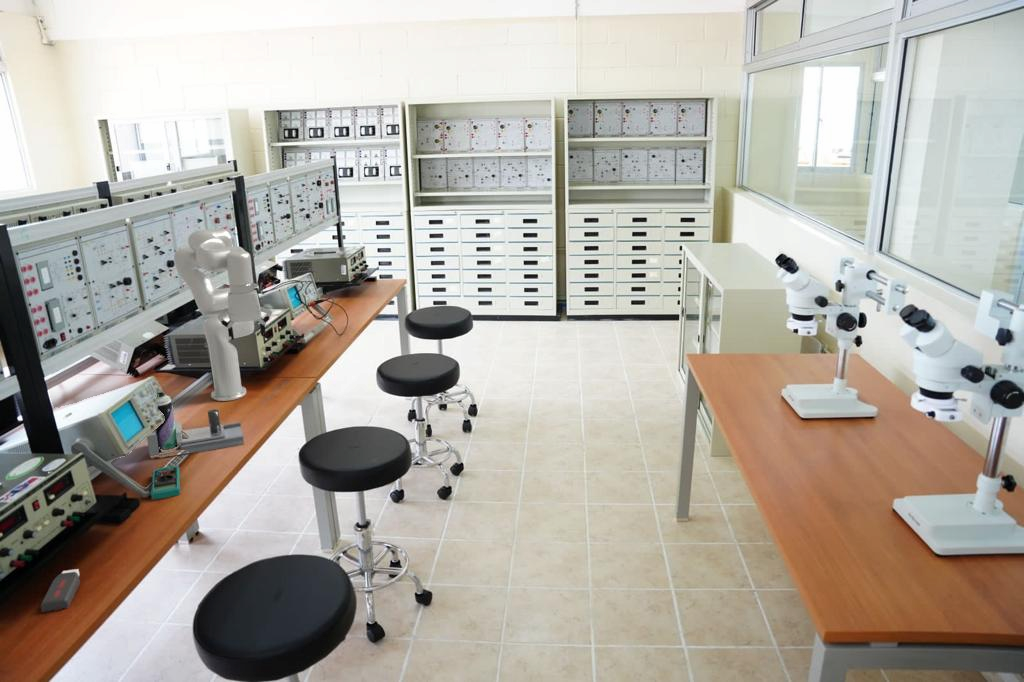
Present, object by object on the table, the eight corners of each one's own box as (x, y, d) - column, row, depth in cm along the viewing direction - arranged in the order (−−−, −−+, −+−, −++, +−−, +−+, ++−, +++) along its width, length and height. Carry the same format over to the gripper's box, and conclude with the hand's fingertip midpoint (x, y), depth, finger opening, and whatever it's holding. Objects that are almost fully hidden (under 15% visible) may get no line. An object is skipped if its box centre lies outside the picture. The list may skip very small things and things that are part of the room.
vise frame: (151, 443, 224) (147, 421, 221) (241, 428, 235) (238, 407, 232) (150, 460, 213) (146, 437, 211) (244, 444, 224) (241, 422, 222)
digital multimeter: (180, 472, 208) (178, 463, 207) (180, 496, 195) (179, 487, 194) (153, 477, 205) (151, 468, 204) (152, 502, 192) (150, 492, 191)
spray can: (158, 453, 217) (148, 396, 211) (161, 445, 222) (152, 389, 216) (177, 451, 219) (167, 394, 212) (180, 443, 224) (171, 387, 217)
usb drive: (41, 613, 150) (39, 603, 149) (59, 578, 161) (57, 569, 160) (68, 609, 152) (66, 599, 151) (84, 575, 163) (82, 565, 162)
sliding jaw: (178, 437, 225) (174, 412, 222) (223, 429, 230) (220, 405, 227) (178, 448, 218) (173, 422, 215) (225, 440, 223) (221, 415, 220)
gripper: (268, 283, 235) (272, 330, 240) (213, 288, 228) (219, 336, 234) (270, 288, 228) (275, 337, 234) (214, 293, 221) (220, 343, 227)
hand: (247, 336), depth 234 cm, fingers open, 9 cm apart
